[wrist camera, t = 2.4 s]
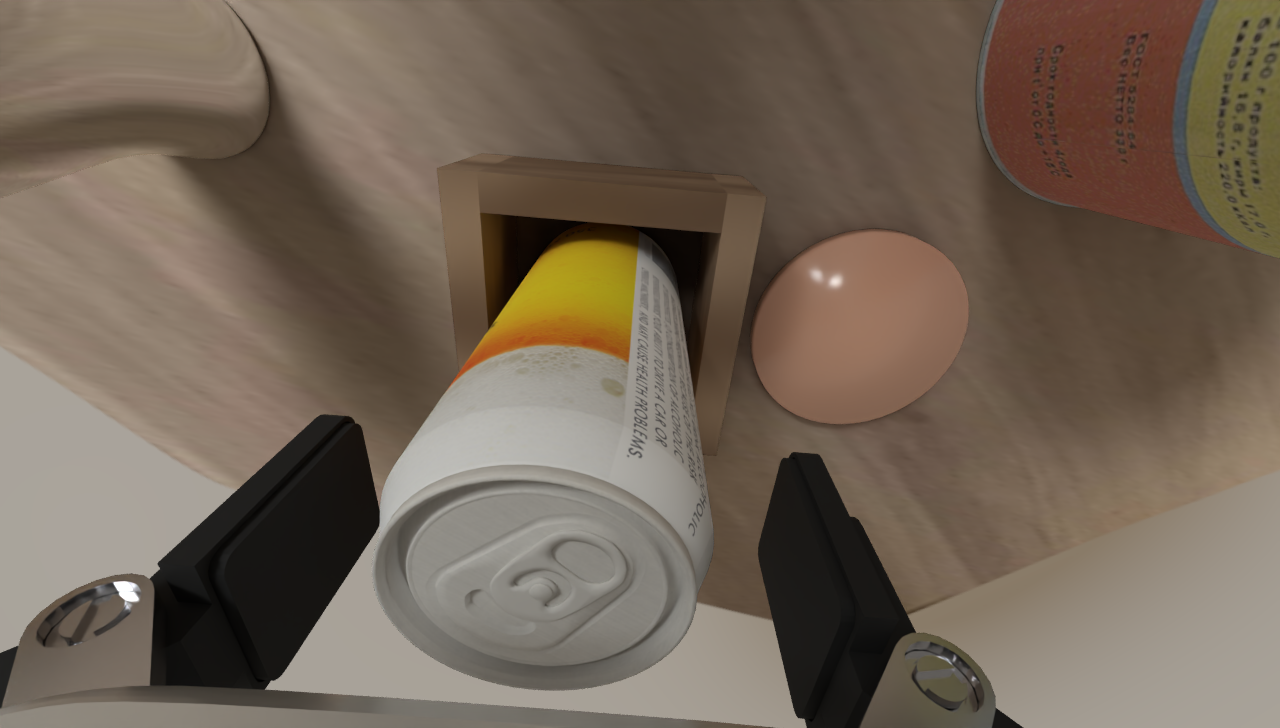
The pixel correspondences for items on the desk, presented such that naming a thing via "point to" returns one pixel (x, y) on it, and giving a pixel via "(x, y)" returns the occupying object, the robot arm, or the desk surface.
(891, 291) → the peach flat disc
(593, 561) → the beer can
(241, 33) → the beer glass
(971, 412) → the desk surface
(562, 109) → the desk surface
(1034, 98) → the canned food
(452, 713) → the robot arm
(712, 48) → the desk surface
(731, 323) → the can holder
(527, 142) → the desk surface
